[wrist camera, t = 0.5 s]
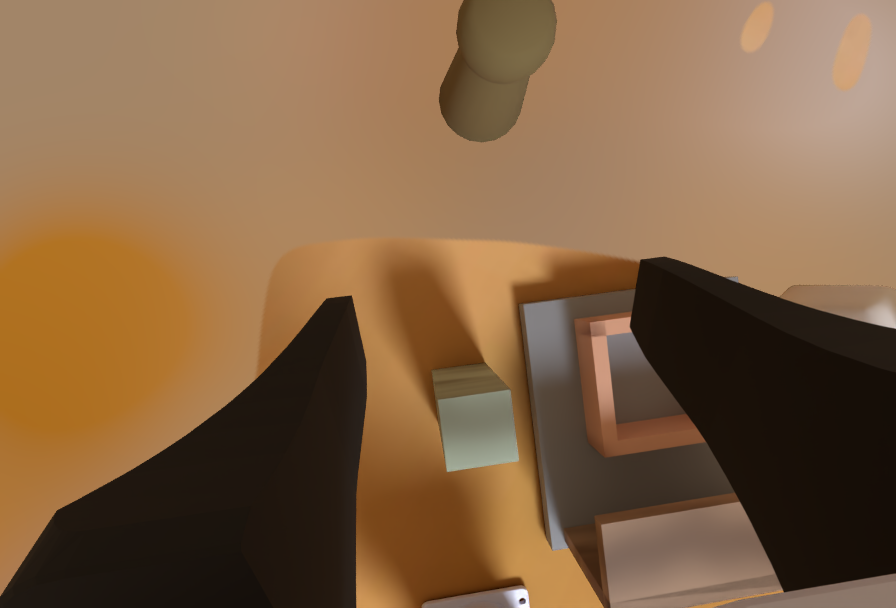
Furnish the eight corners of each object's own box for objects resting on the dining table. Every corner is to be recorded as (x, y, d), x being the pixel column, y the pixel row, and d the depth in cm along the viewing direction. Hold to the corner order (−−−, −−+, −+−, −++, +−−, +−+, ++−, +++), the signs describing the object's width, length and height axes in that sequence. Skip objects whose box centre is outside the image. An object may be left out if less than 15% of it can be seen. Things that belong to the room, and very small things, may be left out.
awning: (747, 511, 35) (847, 578, 27) (565, 541, 34) (611, 620, 26) (740, 439, 34) (839, 485, 26) (556, 467, 33) (601, 524, 26)
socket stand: (746, 506, 36) (793, 537, 32) (546, 539, 35) (566, 576, 31) (724, 276, 35) (769, 275, 31) (518, 303, 34) (534, 306, 30)
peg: (491, 415, 35) (518, 460, 26) (438, 423, 34) (447, 471, 25) (485, 362, 34) (510, 389, 25) (431, 369, 34) (437, 399, 25)
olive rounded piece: (469, 40, 33) (496, -80, 22) (537, 89, 34) (597, -5, 23) (422, 110, 33) (427, 23, 22) (492, 158, 34) (529, 97, 23)
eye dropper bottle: (820, 276, 36) (1022, 271, 24) (835, 345, 36) (1042, 375, 24) (768, 291, 36) (946, 293, 24) (784, 360, 36) (968, 397, 24)
